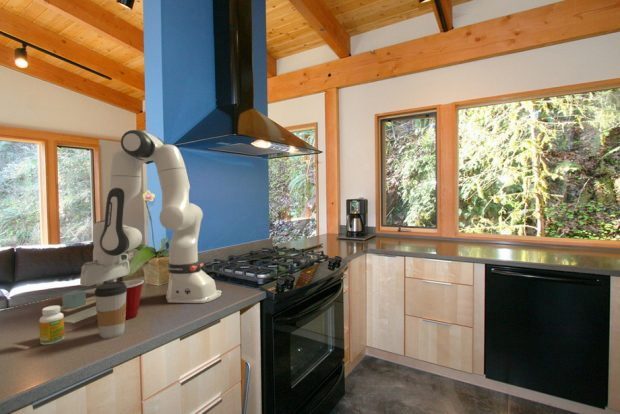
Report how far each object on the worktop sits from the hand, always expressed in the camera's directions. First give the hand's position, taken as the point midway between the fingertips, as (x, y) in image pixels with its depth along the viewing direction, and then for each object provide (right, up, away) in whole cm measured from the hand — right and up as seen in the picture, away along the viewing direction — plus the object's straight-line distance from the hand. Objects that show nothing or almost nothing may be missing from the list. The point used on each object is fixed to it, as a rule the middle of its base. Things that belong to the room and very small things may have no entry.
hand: (106, 291), depth 129 cm
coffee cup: (+25, -4, -36) cm, 44 cm away
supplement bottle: (+11, -4, -40) cm, 41 cm away
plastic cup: (+22, -3, -22) cm, 31 cm away
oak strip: (-2, -3, -8) cm, 9 cm away
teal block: (-4, -2, -13) cm, 14 cm away
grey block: (+7, -3, -18) cm, 20 cm away
